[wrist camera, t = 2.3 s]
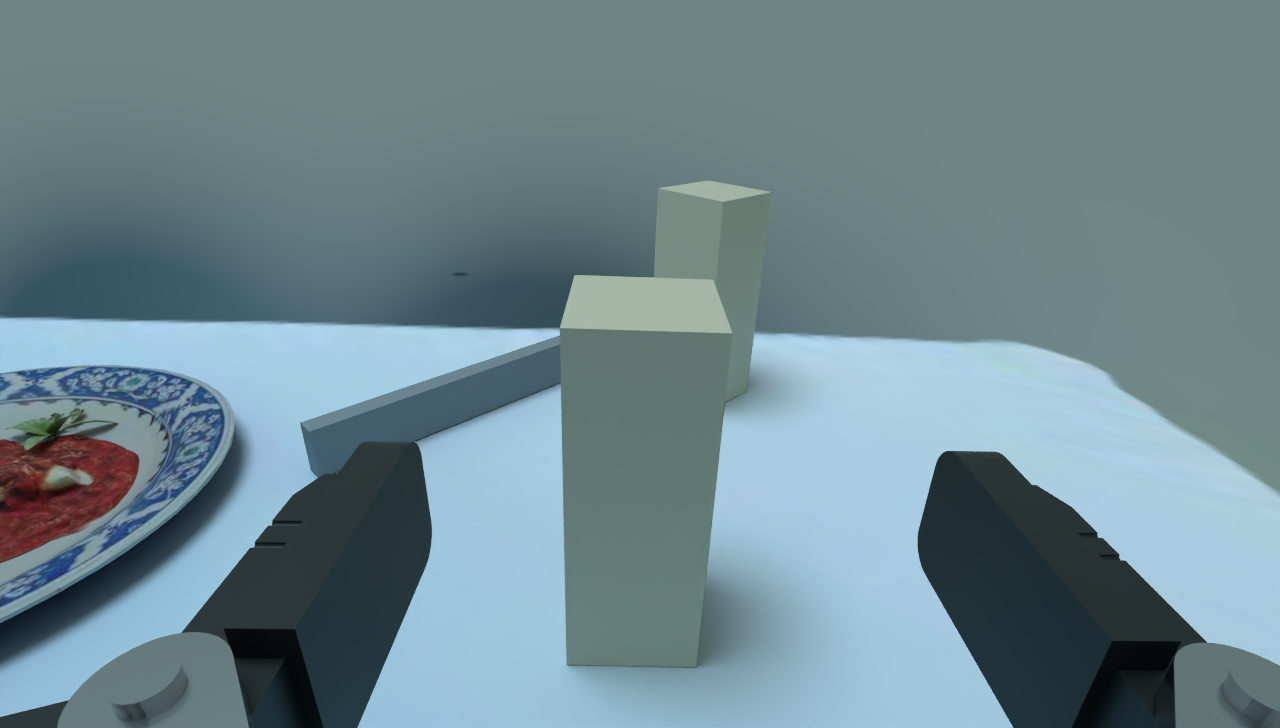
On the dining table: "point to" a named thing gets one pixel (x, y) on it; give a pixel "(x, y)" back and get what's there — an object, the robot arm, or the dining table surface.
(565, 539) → the carton
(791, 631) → the dining table surface
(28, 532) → the ceramic plate
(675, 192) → the faced carton
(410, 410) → the rail
